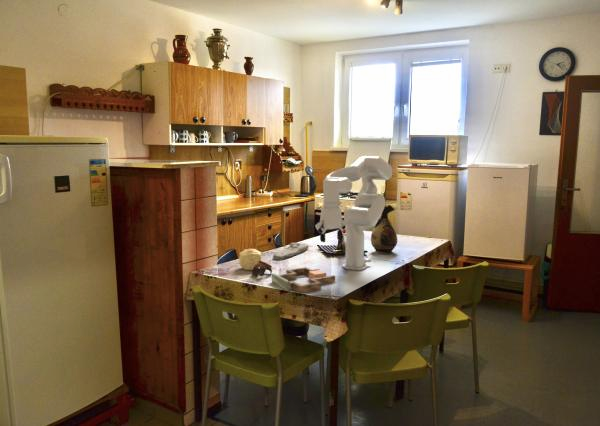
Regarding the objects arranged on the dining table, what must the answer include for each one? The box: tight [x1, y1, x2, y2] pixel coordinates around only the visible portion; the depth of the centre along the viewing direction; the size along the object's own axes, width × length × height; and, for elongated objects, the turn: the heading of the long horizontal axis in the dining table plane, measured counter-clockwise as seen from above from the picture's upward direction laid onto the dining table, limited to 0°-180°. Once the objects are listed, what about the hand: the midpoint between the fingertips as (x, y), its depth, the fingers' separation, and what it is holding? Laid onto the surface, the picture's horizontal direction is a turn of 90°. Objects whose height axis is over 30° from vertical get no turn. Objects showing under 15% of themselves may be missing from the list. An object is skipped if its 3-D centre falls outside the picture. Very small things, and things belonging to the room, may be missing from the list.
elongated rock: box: [272, 242, 310, 261], centre depth 288 cm, size 35×5×10 cm
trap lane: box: [271, 266, 336, 294], centre depth 230 cm, size 26×27×4 cm
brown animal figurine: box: [251, 260, 273, 278], centre depth 241 cm, size 12×10×8 cm
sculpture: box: [238, 248, 263, 271], centre depth 254 cm, size 12×12×11 cm
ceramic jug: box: [370, 204, 398, 255], centre depth 289 cm, size 17×15×30 cm
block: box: [308, 269, 327, 281], centre depth 234 cm, size 6×6×4 cm
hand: (331, 240), depth 235 cm, fingers open, 9 cm apart
